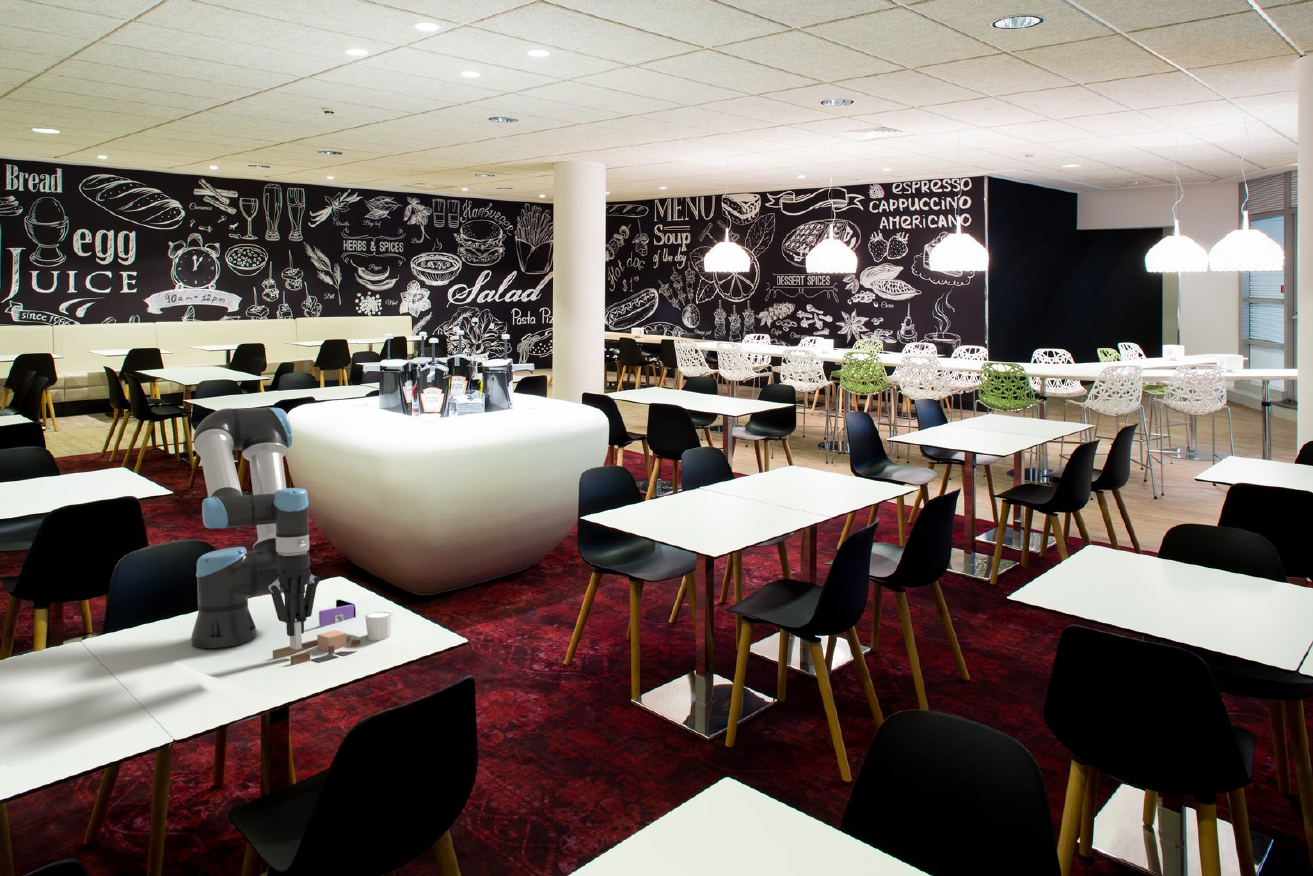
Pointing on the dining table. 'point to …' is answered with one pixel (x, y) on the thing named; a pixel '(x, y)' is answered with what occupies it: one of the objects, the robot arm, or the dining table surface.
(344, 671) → the dining table surface
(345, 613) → the miniature room corner
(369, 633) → the white cup
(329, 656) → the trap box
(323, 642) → the block
